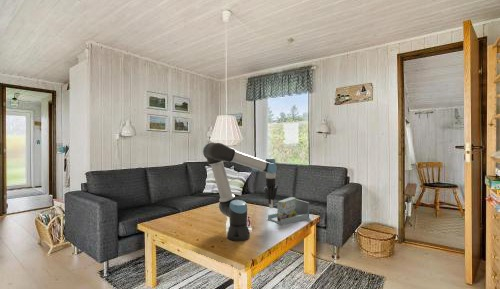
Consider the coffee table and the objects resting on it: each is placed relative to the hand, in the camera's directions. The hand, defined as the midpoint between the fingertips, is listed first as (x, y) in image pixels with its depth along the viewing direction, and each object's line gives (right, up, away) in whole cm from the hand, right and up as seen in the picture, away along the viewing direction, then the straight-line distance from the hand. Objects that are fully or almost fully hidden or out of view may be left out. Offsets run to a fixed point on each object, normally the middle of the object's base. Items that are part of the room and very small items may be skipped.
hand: (271, 207), depth 200 cm
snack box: (+14, -11, +9) cm, 20 cm away
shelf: (+15, -12, +11) cm, 22 cm away
